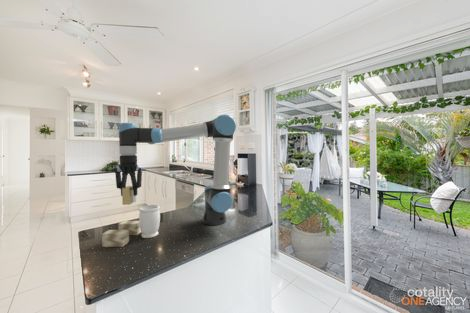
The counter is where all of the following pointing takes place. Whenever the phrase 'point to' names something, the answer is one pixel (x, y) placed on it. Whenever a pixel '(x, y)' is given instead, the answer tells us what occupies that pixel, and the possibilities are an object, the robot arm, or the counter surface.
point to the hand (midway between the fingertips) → (129, 202)
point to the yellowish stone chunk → (127, 195)
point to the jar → (149, 220)
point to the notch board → (120, 234)
